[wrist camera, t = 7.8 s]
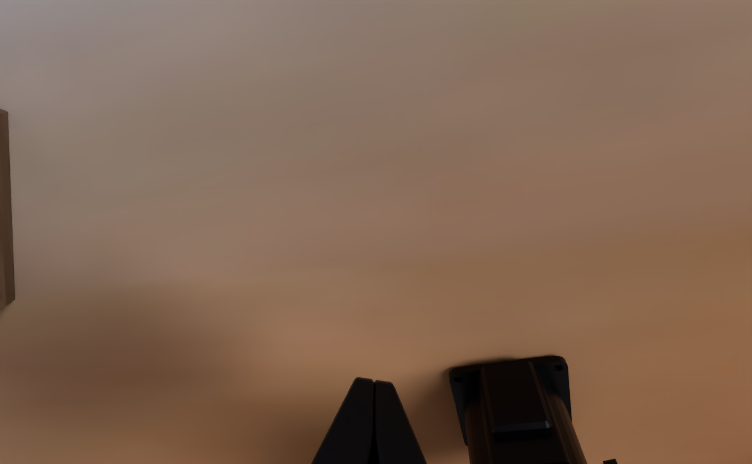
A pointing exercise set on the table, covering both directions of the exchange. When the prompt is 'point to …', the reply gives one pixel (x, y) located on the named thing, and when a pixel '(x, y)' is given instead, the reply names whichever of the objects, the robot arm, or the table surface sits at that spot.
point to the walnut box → (5, 218)
